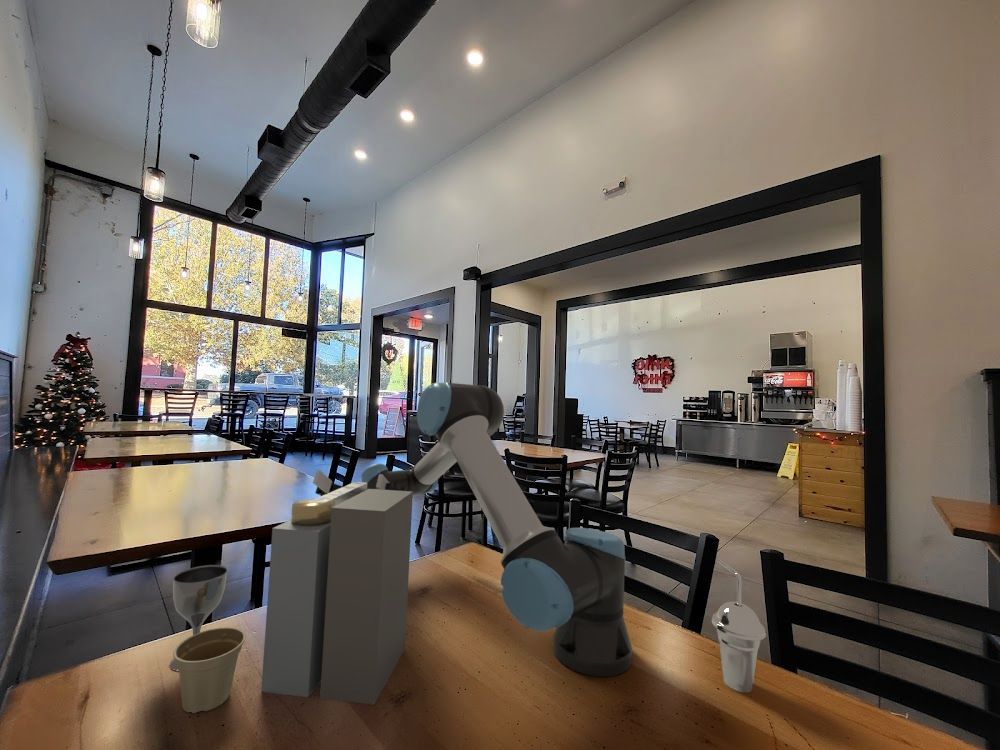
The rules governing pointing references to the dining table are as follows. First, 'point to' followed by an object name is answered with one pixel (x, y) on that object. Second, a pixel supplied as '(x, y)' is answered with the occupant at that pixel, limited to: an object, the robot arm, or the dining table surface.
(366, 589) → the tall stand
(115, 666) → the dining table surface
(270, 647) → the short stand
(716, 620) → the cup with straw
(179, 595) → the wine glass
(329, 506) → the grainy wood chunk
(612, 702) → the dining table surface
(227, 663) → the flower pot
